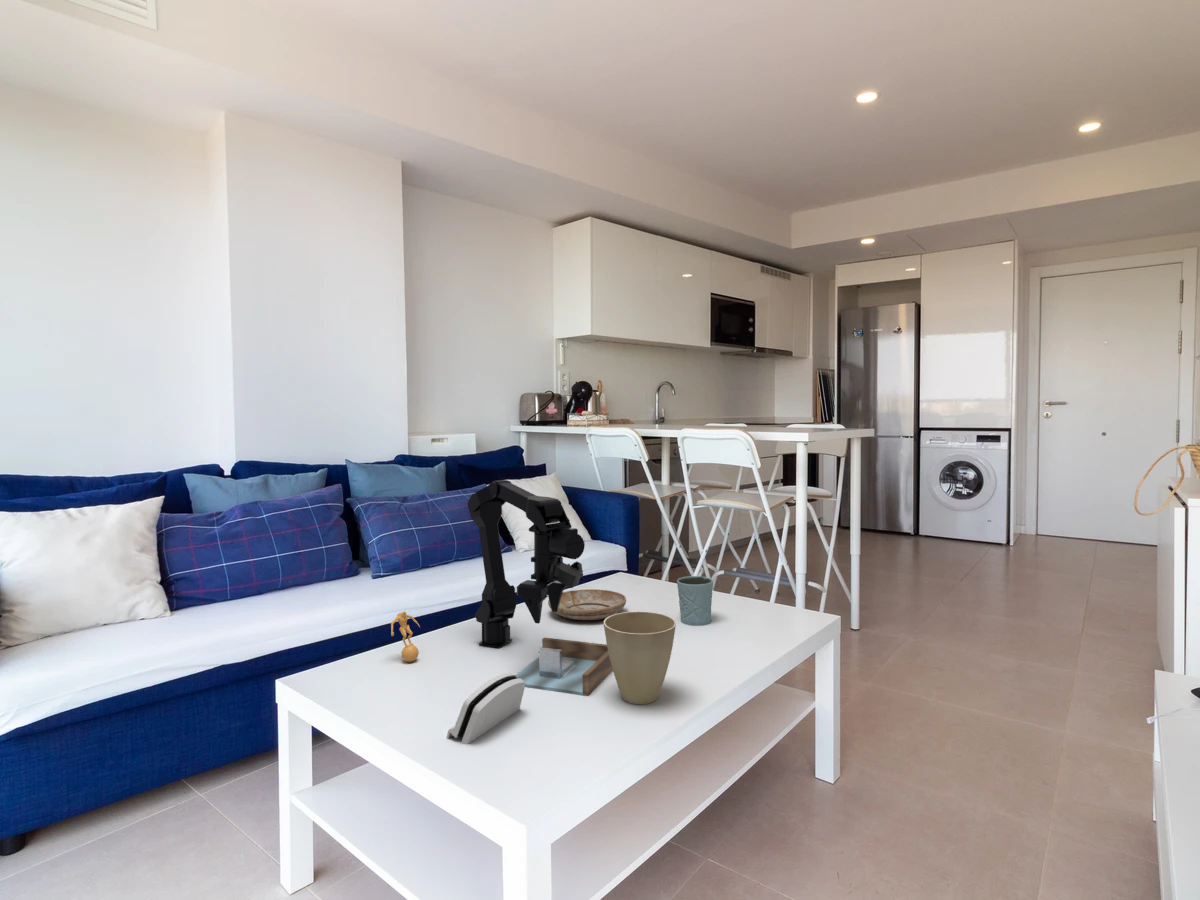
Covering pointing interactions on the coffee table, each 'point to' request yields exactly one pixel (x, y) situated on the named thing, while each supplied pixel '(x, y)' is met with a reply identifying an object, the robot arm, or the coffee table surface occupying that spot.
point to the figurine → (409, 650)
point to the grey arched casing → (488, 707)
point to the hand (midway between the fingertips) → (546, 617)
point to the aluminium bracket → (553, 663)
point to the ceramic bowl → (590, 604)
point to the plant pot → (639, 652)
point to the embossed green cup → (695, 600)
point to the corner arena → (580, 678)
